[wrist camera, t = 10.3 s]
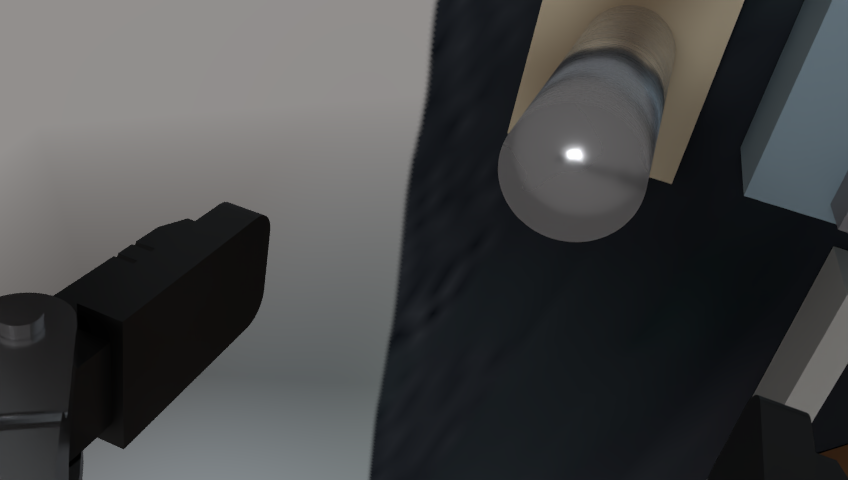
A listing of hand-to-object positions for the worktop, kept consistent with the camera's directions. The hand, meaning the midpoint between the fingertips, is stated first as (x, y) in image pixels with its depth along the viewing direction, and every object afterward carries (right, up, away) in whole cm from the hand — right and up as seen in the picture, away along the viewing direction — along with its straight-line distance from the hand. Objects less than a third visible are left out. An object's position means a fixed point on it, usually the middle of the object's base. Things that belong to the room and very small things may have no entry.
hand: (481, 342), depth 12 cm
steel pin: (+7, +9, +17) cm, 21 cm away
